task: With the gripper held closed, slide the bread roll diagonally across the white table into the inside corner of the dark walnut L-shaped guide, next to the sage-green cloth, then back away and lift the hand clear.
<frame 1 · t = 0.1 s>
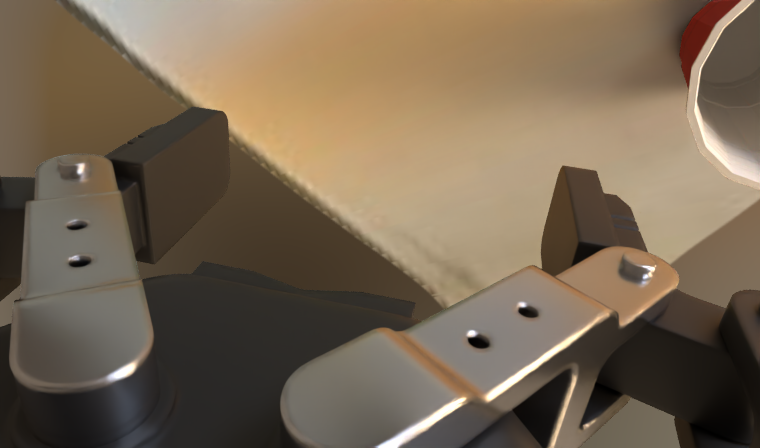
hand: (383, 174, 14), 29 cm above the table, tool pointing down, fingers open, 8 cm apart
plastic cup: (730, 36, 37), on the table
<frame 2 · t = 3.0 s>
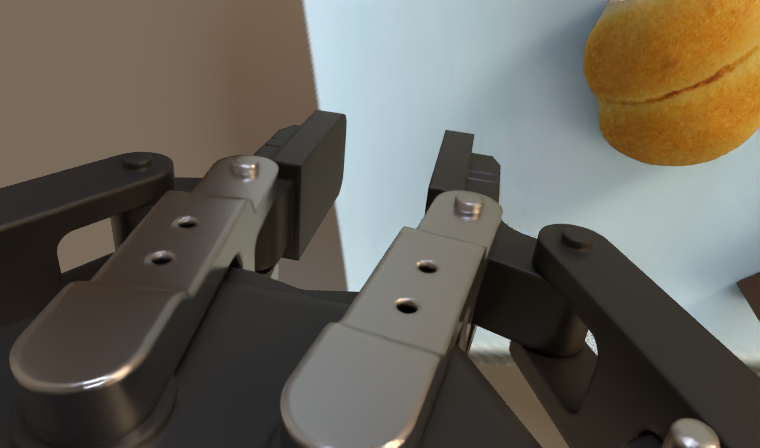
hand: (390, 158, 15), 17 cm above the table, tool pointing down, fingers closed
bread roll: (671, 62, 28), on the table
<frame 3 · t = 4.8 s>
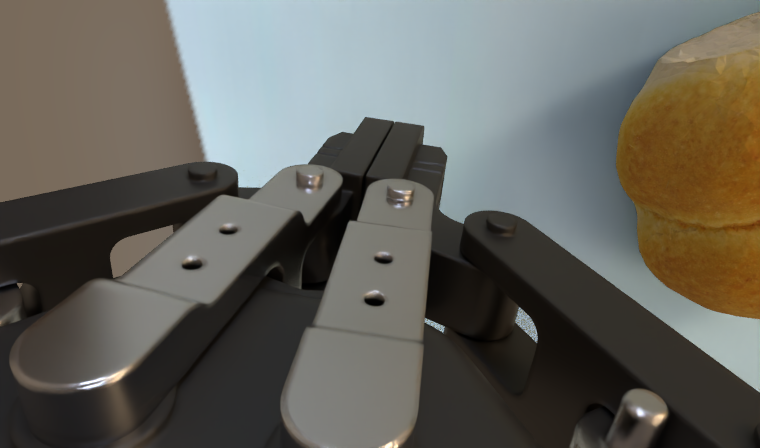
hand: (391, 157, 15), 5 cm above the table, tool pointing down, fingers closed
bread roll: (756, 149, 18), on the table
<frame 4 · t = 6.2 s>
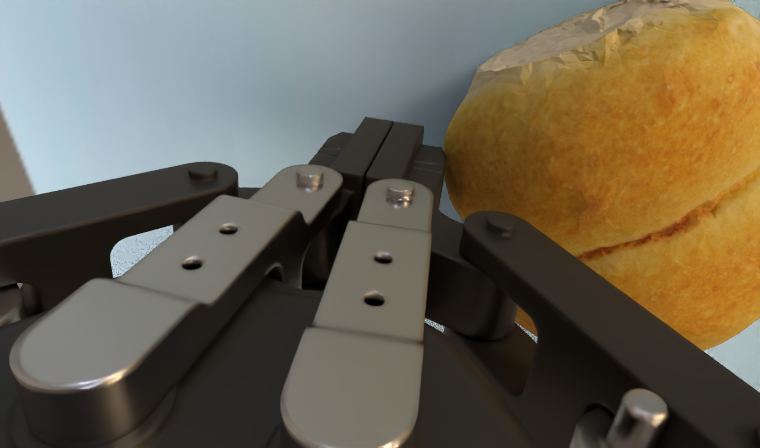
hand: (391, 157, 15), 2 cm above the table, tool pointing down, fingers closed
bread roll: (609, 167, 16), on the table, touching gripper
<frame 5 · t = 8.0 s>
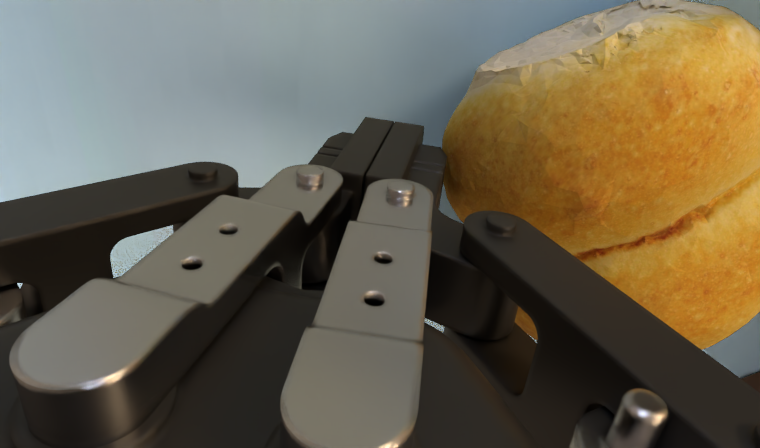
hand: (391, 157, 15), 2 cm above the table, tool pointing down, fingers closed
bread roll: (605, 169, 16), on the table, touching gripper
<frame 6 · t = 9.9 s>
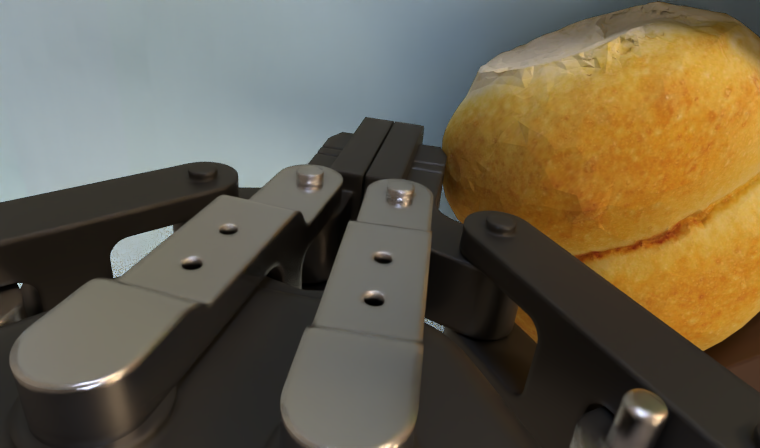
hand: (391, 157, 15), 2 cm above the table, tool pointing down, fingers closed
bread roll: (604, 172, 16), on the table, touching gripper
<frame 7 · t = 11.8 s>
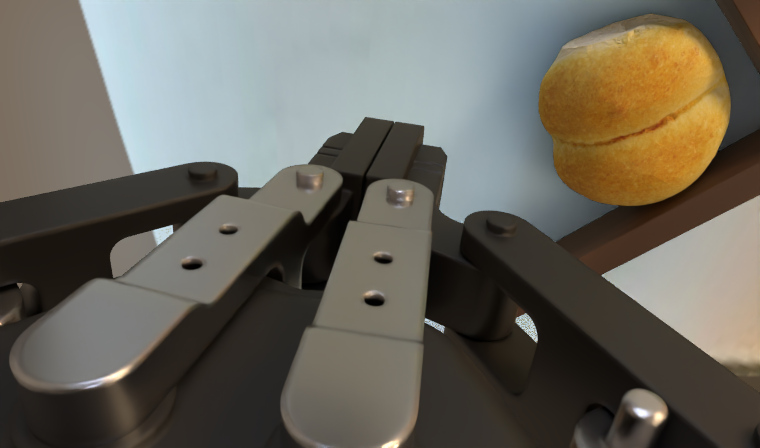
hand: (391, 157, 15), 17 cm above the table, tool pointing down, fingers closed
bread roll: (623, 105, 29), on the table
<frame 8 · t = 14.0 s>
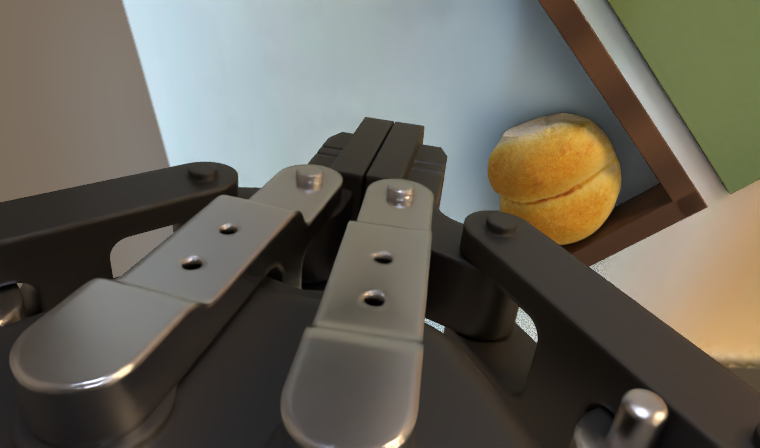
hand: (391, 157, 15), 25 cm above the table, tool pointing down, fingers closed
corner guide: (661, 181, 39), on the table
cloth: (750, 46, 34), on the table
bread roll: (550, 171, 40), on the table
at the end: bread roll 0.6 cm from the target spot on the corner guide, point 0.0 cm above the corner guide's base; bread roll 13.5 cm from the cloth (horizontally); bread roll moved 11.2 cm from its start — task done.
